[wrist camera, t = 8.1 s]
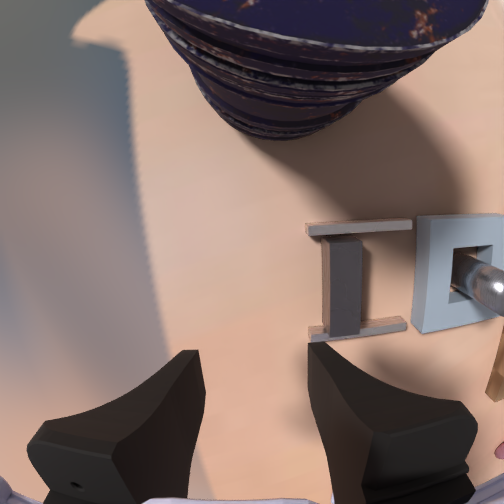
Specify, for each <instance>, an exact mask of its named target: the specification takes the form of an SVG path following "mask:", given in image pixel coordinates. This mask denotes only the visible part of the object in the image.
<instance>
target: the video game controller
mask: <svg viewBox="0 0 504 504" xmlns="http://www.w3.org/2000/svg"><path fill="white" fill-rule="evenodd" d="M495 456H496V457H497V458H499V459H504V443H502V444H501V445H500V446H499V447H498V448H497V449H496V451H495Z"/></svg>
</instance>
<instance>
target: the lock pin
mask: <svg viewBox="0 0 504 504" xmlns="http://www.w3.org/2000/svg"><path fill="white" fill-rule="evenodd" d="M450 285H452V286H454V287H455V288H457V289H458V290H460V291H462V292H463V293H465V294H467V295H468V296H470V297H471V298H473V299H475V300H476V301H478V302H479V303H481V304H483V305H484V306H486V307H487V308H489V309H490V310H492V311H494V312H495V313H497V314H498V315H500V316H503V317H504V271H503V270H501V269H499V268H497V267H494V266H492V265H490V264H487V263H485V262H483V261H480V260H478V259H476V258H473V257H471V256H469V255H466V254H464V253H461V252H457V253H454V254H453V261H452V273H451V283H450Z"/></svg>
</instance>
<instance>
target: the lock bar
mask: <svg viewBox="0 0 504 504" xmlns="http://www.w3.org/2000/svg"><path fill="white" fill-rule="evenodd" d="M321 246H322V307H323V313H322V322H323V324H324V327H325V329H326V331H327V333H328V335H329V337H330V338H333V337H341V336H349V335H357V334H360V321H361V299H362V241H361V240H359V239H358V238H356V237H354V236H353V235H351V234H350V235H335V236H321Z"/></svg>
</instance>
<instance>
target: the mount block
mask: <svg viewBox="0 0 504 504" xmlns="http://www.w3.org/2000/svg"><path fill="white" fill-rule="evenodd" d="M485 393H486V394H487V395H488V396H489V397H490V398H491V399H492V400H493V401H494V402H497V401H500V400H502V399H504V328H503V332H502V336H501V340H500V344H499V348H498V352H497V356H496V359H495V363H494V366H493V370H492V373H491V376H490V379H489V383H488V386H487V389H486V392H485Z"/></svg>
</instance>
